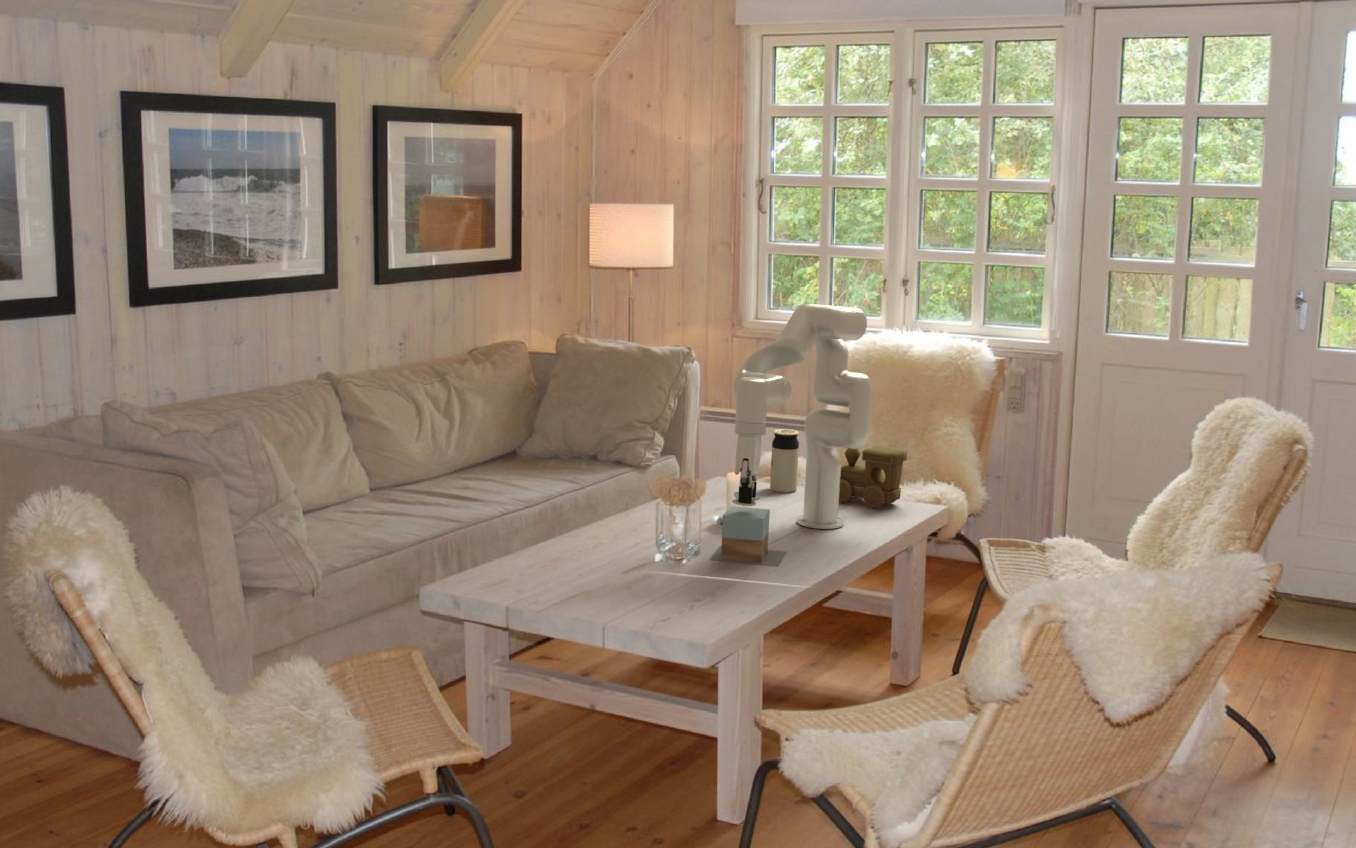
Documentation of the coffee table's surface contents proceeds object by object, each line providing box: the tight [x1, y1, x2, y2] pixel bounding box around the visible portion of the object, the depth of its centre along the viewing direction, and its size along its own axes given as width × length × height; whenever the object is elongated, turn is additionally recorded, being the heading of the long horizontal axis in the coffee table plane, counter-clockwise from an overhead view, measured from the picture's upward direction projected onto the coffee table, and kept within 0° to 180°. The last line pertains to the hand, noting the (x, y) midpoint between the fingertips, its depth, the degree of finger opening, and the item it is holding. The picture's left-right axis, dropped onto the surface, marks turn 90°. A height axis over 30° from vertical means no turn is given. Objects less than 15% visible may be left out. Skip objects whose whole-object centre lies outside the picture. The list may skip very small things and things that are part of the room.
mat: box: [709, 544, 787, 568], centre depth 348 cm, size 14×17×1 cm
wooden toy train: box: [839, 446, 908, 510], centre depth 408 cm, size 20×11×17 cm, turn 55°
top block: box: [721, 505, 771, 541], centre depth 346 cm, size 10×10×6 cm
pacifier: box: [731, 478, 763, 507], centre depth 344 cm, size 7×6×6 cm
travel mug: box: [769, 428, 800, 494], centre depth 421 cm, size 8×8×18 cm
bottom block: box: [721, 530, 770, 563], centre depth 347 cm, size 10×10×6 cm
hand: (747, 499), depth 345 cm, fingers closed on pacifier, 5 cm apart
